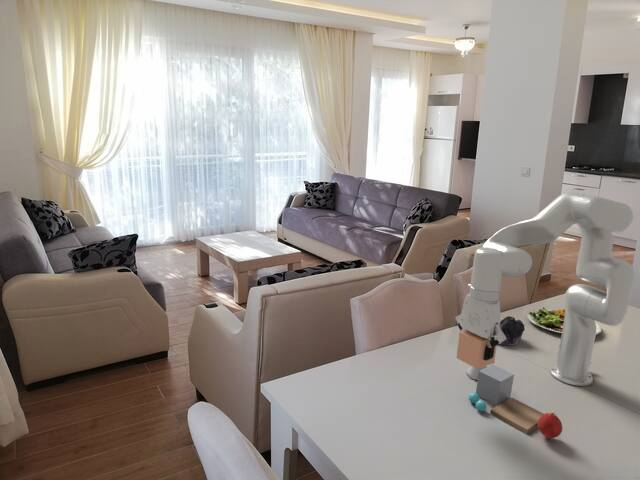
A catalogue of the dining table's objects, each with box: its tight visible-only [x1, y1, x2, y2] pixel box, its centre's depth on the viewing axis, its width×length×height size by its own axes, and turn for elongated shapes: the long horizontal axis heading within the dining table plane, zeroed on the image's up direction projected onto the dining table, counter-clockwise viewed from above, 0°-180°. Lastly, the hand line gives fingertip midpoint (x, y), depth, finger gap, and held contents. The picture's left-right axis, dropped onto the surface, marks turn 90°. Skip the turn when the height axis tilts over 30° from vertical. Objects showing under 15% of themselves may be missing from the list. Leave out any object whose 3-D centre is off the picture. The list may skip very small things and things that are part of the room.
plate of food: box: [526, 307, 602, 335], centre depth 198 cm, size 28×28×6 cm
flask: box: [466, 365, 488, 381], centre depth 154 cm, size 7×7×10 cm
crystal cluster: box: [499, 315, 525, 346], centre depth 183 cm, size 13×14×10 cm
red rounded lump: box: [537, 411, 563, 440], centre depth 125 cm, size 6×6×8 cm
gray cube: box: [475, 363, 515, 407], centre depth 143 cm, size 7×7×8 cm
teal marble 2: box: [475, 399, 488, 412], centre depth 136 cm, size 3×3×3 cm
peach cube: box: [456, 330, 498, 369], centre depth 133 cm, size 7×7×8 cm
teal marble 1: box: [468, 392, 480, 404], centre depth 140 cm, size 3×3×3 cm
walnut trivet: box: [489, 397, 545, 435], centre depth 134 cm, size 11×11×1 cm
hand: (476, 352), depth 133 cm, fingers closed on peach cube, 7 cm apart
